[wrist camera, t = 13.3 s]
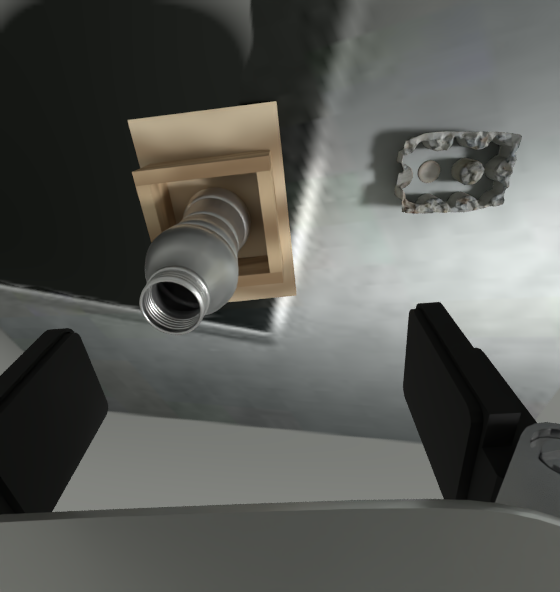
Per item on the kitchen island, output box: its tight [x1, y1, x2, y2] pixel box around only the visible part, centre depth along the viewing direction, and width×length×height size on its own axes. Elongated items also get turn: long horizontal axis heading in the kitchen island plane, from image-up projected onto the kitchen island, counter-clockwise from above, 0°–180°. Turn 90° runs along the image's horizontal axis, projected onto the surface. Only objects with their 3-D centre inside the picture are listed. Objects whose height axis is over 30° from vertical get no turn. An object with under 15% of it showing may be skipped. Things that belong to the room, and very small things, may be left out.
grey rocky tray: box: [395, 131, 522, 213], centre depth 37 cm, size 11×8×4 cm
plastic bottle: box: [140, 187, 251, 335], centre depth 30 cm, size 6×7×20 cm
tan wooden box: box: [128, 101, 296, 302], centre depth 38 cm, size 20×14×6 cm
